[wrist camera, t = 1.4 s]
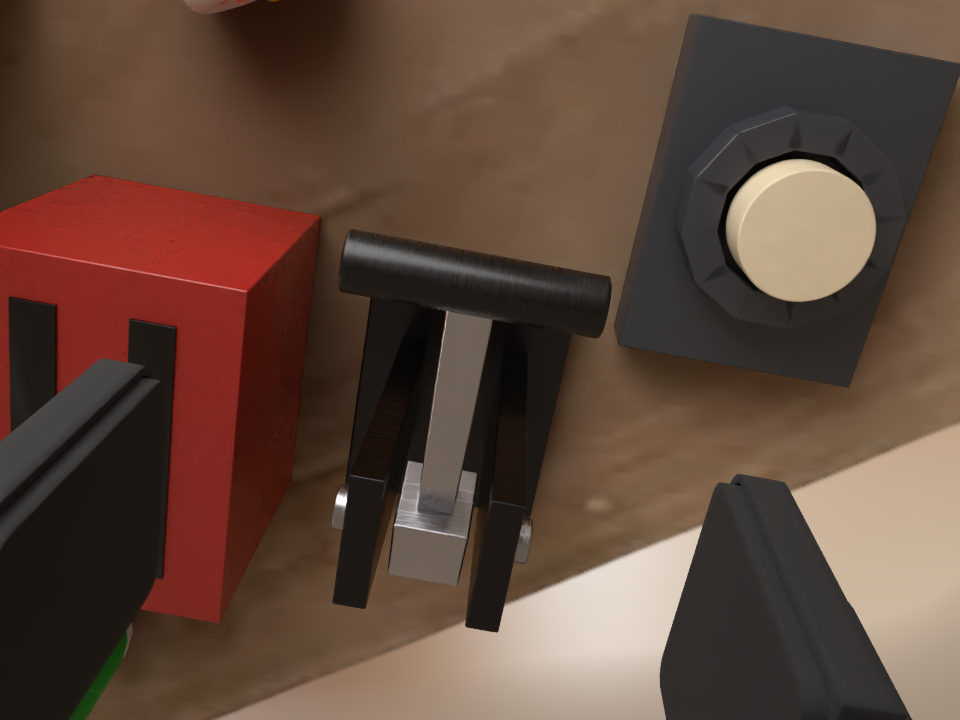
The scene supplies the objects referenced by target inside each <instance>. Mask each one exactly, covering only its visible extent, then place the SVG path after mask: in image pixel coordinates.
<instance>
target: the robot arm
mask: <svg viewBox="0 0 960 720" xmlns="http://www.w3.org/2000/svg"><path fill="white" fill-rule="evenodd" d="M166 400H167V389H166V384H165V382H164V381H160V380H155V379H154V377H153V372H152V370H151V368H150V367H148V366H143V365H138V364H132V363H127V362H121V361H116V360H110V359H105V358H102V359H100V360H98V361H97V362H95V363H94V364H93V365H92V366H91V367H89V368H88V369H87V370H86V371H85V372H83V373H82V374H81V375H80V376H79V377H77V378H76V379H75V380H74V381H73V382H71V383H70V384H69V385H68V386H67V387H65V388H64V389H63V390H62V391H61V392H59V393H58V394H57V395H56V396H55V397H53V398H52V399H51V400H50V401H49V402H47V403H46V404H45V405H44V406H43V407H41V408H40V409H39V410H38V411H37V412H35V413H34V414H33V415H32V416H31V417H29V418H28V419H27V420H26V421H25V422H23V423H22V424H21V425H20V426H19V427H17V428H16V429H15V430H14V431H13V432H11V433H10V434H9V435H8V436H7V437H5V438H4V439H3V440H2V441H1V442H0V720H69V719H70V718H71V716H72V714H73V713H74V711H75V710H76V708H77V707H78V705H79V704H80V702H81V700H82V699H83V697H84V696H85V694H86V693H87V691H88V690H89V688H90V686H91V685H92V683H93V682H94V680H95V679H96V677H97V676H98V674H99V672H100V671H101V669H102V668H103V666H104V665H105V663H106V661H107V660H108V658H109V657H110V655H111V654H112V652H113V651H114V649H115V647H116V646H117V644H118V643H119V641H120V640H121V638H122V637H123V635H124V633H125V632H126V630H127V629H128V627H129V626H130V624H131V623H132V621H133V619H134V618H135V616H136V615H137V613H138V612H139V610H140V609H141V607H142V605H143V604H144V602H145V601H146V599H147V598H148V596H149V594H150V592H151V590H152V587H153V584H154V581H155V578H156V573H157V567H158V551H159V532H160V513H161V495H162V476H163V457H164V438H165V419H166ZM660 688H661V694H662V699H663V704H664V709H665V715H666V720H912V719H911V717H910V715H909V713H908V711H907V710H906V708H905V705H904V704H903V702H902V700H901V698H900V696H899V694H898V692H897V690H896V689H895V687H894V685H893V683H892V681H891V679H890V677H889V675H888V673H887V671H886V670H885V667H884V666H883V664H882V662H881V660H880V658H879V656H878V654H877V653H876V650H875V648H874V647H873V645H872V643H871V641H870V639H869V637H868V635H867V634H866V631H865V630H864V628H863V626H862V624H861V622H860V620H859V618H858V616H857V614H856V613H855V611H854V609H853V607H852V606H851V605H850V604H849V602H848V601H847V599H846V597H845V596H844V593H843V592H842V590H841V588H840V586H839V584H838V582H837V580H836V578H835V576H834V574H833V572H832V571H831V569H830V567H829V565H828V563H827V561H826V559H825V557H824V555H823V553H822V551H821V550H820V548H819V546H818V544H817V542H816V540H815V538H814V536H813V534H812V532H811V530H810V528H809V527H808V525H807V523H806V521H805V519H804V517H803V515H802V513H801V512H800V509H799V507H798V506H797V504H796V502H795V500H794V498H793V496H792V494H791V492H790V490H789V488H788V486H787V485H786V484H785V483H784V482H781V481H775V480H770V479H764V478H759V477H753V476H748V475H742V474H737V475H736V476H735V477H734V478H733V480H732V481H731V483H730V484H727V483H721V482H720V483H718V484H717V486H716V487H715V489H714V492H713V495H712V498H711V501H710V504H709V507H708V511H707V514H706V517H705V520H704V524H703V527H702V530H701V533H700V537H699V540H698V543H697V546H696V550H695V553H694V556H693V559H692V563H691V566H690V569H689V573H688V575H687V579H686V582H685V585H684V588H683V592H682V595H681V598H680V602H679V605H678V608H677V611H676V614H675V618H674V621H673V624H672V627H671V631H670V634H669V637H668V640H667V644H666V647H665V650H664V653H663V657H662V661H661V668H660Z"/></svg>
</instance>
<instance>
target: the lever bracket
mask: <svg viewBox="0 0 960 720" xmlns="http://www.w3.org/2000/svg"><path fill="white" fill-rule="evenodd" d="M445 313H446V311H443V310H437V309H432V308H426V307H421V306H415V305H410V304H405V303H399V302H394V301H388V300H383V299H377V298H372V297H371V300H370V307H369V315H368V322H367V329H366V336H365V344H364V351H363V358H362V366H361V373H360V380H359V387H358V395H357V402H356V409H355V417H354V424H353V431H352V438H351V446H350V453H349V460H348V468H347V475H346V484H349V485H345V484H341V485H340V486H339V488H338V491H337V494H336V498H335V502H334V507H333V512H332V519H331V528H332V529H333V530H338V531H342V537H341V545H340V552H339V559H338V566H337V573H336V581H335V588H334V595H333V604H338V605H344V606H350V607H355V608H361V609H365V608H366V605H367V601H368V598H369V594H370V590H371V587H372V583H373V579H374V576H375V572H376V568H377V565H378V561H379V557H380V554H381V550H382V546H383V543H384V539H385V535H386V532H387V528H388V524H389V521H390V517H391V513H392V510H393V506H394V502H395V499H396V495H397V493H399V494H400V492H401V487H402V483H403V478H404V474H405V469H406V465H407V462H408V461H415V462H420V463H423V459H424V453H425V446H426V439H427V433H428V426H429V419H430V413H431V406H432V400H433V393H434V386H435V380H436V373H437V366H438V360H439V353H440V346H441V340H442V333H443V326H444V320H445ZM571 335H572V334H568V333H563V332H557V331H552V330H546V329H541V328H535V327H530V326H524V325H519V324H514V323H508V322H503V321H497V320H493V323H492V328H491V333H490V338H489V343H488V347H487V352H486V357H485V362H484V367H483V372H482V377H481V382H480V386H479V391H478V396H477V401H476V406H475V411H474V416H473V421H472V426H471V430H470V435H469V440H468V445H467V450H466V455H465V460H464V465H463V469H462V470H465V471H470V472H476V473H478V480H477V487H476V493H475V500H474V506H473V507H476V508H478V511H477V520H476V529H475V539H474V548H473V557H472V567H471V576H470V586H469V595H468V604H467V614H466V623H465V626H466V627H468V628H474V629H479V630H485V631H490V632H498V630H499V626H500V621H501V616H502V612H503V608H504V604H505V599H506V595H507V590H508V586H509V581H510V577H511V572H512V568H513V563H514V562H516V563H521V564H525V563H526V561H527V558H528V554H529V550H530V545H531V539H532V531H533V520H532V519H531V518H528V517H530V515H531V511H532V507H533V502H534V498H535V494H536V489H537V485H538V480H539V476H540V471H541V467H542V463H543V458H544V454H545V449H546V445H547V441H548V436H549V432H550V427H551V423H552V418H553V414H554V410H555V405H556V401H557V396H558V392H559V388H560V383H561V379H562V374H563V370H564V365H565V361H566V357H567V352H568V348H569V343H570V339H571ZM524 516H526V517H524Z"/></svg>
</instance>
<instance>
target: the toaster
mask: <svg viewBox="0 0 960 720" xmlns="http://www.w3.org/2000/svg"><path fill="white" fill-rule="evenodd" d="M319 226H320V216H317V215H311V214H306V213H300V212H295V211H290V210H284V209H279V208H273V207H268V206H263V205H257V204H252V203H246V202H241V201H236V200H230V199H225V198H219V197H214V196H208V195H203V194H198V193H192V192H187V191H181V190H176V189H171V188H165V187H160V186H154V185H149V184H143V183H138V182H133V181H127V180H122V179H116V178H111V177H106V176H100V175H92V176H89V177H87V178H84V179H82V180H79V181H77V182H74V183H72V184H69V185H67V186H64V187H62V188H59V189H57V190H54V191H52V192H49V193H47V194H44V195H42V196H39V197H37V198H34V199H32V200H29V201H27V202H24V203H22V204H19V205H17V206H15V207H12V208H10V209H7V210H5V211H2V212H0V442H1V441H2V440H3V439H4V438H5V437H7V436H8V435H9V434H10V433H11V432H13V431H14V430H15V429H16V428H17V427H19V426H20V425H21V424H22V423H23V422H25V421H26V420H27V419H28V418H29V417H31V416H32V415H33V414H34V413H35V412H37V411H38V410H39V409H40V408H41V407H43V406H44V405H45V404H46V403H47V402H49V401H50V400H51V399H52V398H53V397H55V396H56V395H57V394H58V393H59V392H61V391H62V390H63V389H64V388H65V387H67V386H68V385H69V384H70V383H71V382H73V381H74V380H75V379H76V378H77V377H79V376H80V375H81V374H82V373H83V372H85V371H86V370H87V369H88V368H89V367H91V366H92V365H93V364H94V363H95V362H97V361H98V360H100V359H102V358H105V359H110V360H116V361H121V362H127V363H132V364H138V365H143V366H148V367H150V368H151V370H152V372H153V377H154V379H155V380H160V381H164V382H165V384H166V389H167V400H166V419H165V438H164V457H163V476H162V495H161V513H160V532H159V551H158V567H157V573H156V578H155V581H154V584H153V587H152V590H151V592H150V594H149V596H148V598H147V599H146V601H145V602H144V604H143V605H142V607H141V610H147V611H152V612H158V613H164V614H169V615H175V616H181V617H186V618H192V619H198V620H203V621H209V622H214V623H220V621H221V619H222V617H223V615H224V613H225V611H226V609H227V607H228V605H229V603H230V601H231V599H232V597H233V595H234V593H235V591H236V589H237V587H238V585H239V583H240V581H241V579H242V577H243V575H244V573H245V571H246V569H247V567H248V565H249V563H250V561H251V559H252V557H253V555H254V553H255V551H256V549H257V547H258V545H259V543H260V541H261V539H262V537H263V535H264V533H265V531H266V529H267V527H268V525H269V523H270V521H271V519H272V517H273V515H274V513H275V511H276V509H277V507H278V505H279V503H280V501H281V499H282V497H283V495H284V493H285V491H286V489H287V487H288V485H289V483H290V481H291V476H292V467H293V458H294V450H295V441H296V432H297V423H298V414H299V405H300V396H301V387H302V378H303V369H304V360H305V351H306V342H307V334H308V325H309V316H310V307H311V298H312V289H313V280H314V271H315V262H316V253H317V244H318V235H319Z"/></svg>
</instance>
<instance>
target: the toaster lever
mask: <svg viewBox="0 0 960 720" xmlns="http://www.w3.org/2000/svg"><path fill="white" fill-rule="evenodd" d="M611 288H612V284H611V278H610V277H608V276H604V275H598V274H593V273H587V272H582V271H577V270H571V269H566V268H560V267H555V266H549V265H544V264H539V263H533V262H528V261H522V260H517V259H511V258H506V257H501V256H495V255H490V254H484V253H479V252H474V251H468V250H463V249H457V248H452V247H446V246H441V245H436V244H430V243H425V242H419V241H414V240H409V239H403V238H398V237H392V236H387V235H381V234H376V233H371V232H365V231H360V230H354V229H352V230H350V231H349V233H348V234H347V236H346V239H345V242H344V246H343V250H342V255H341V261H340V268H339V289H340V291H342V292H345V293H350V294H356V295H361V296H366V297H372V298H377V299H383V300H388V301H394V302H399V303H405V304H410V305H415V306H421V307H426V308H432V309H437V310H443V311H446V313H445V320H444V326H443V333H442V340H441V346H440V353H439V360H438V366H437V373H436V380H435V386H434V393H433V400H432V406H431V413H430V419H429V426H428V433H427V439H426V446H425V453H424V459H423V463H420V462H415V461H408V462H407V465H406V469H405V474H404V478H403V483H402V487H401V492H400V496H399V501H398V505H397V510H396V514H395V519H394V523H393V531H392V539H391V547H390V555H389V564H388V574H389V575H395V576H401V577H406V578H412V579H417V580H423V581H429V582H434V583H440V584H445V585H451V586H457V585H458V582H459V577H460V573H461V569H462V565H463V560H464V556H465V552H466V547H467V543H468V539H469V533H470V526H471V519H472V513H473V506H474V500H475V493H476V487H477V480H478V473H476V472H470V471H465V470H462V469H463V465H464V460H465V455H466V450H467V445H468V440H469V435H470V430H471V426H472V421H473V416H474V411H475V406H476V401H477V396H478V391H479V386H480V382H481V377H482V372H483V367H484V362H485V357H486V352H487V347H488V343H489V338H490V333H491V328H492V323H493V320H497V321H503V322H508V323H514V324H519V325H524V326H530V327H535V328H541V329H546V330H552V331H557V332H563V333H568V334H574V335H579V336H584V337H590V338H595V339H596V338H599V337H600V335H601V334H602V332H603V329H604V326H605V323H606V319H607V315H608V310H609V305H610V298H611Z"/></svg>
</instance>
